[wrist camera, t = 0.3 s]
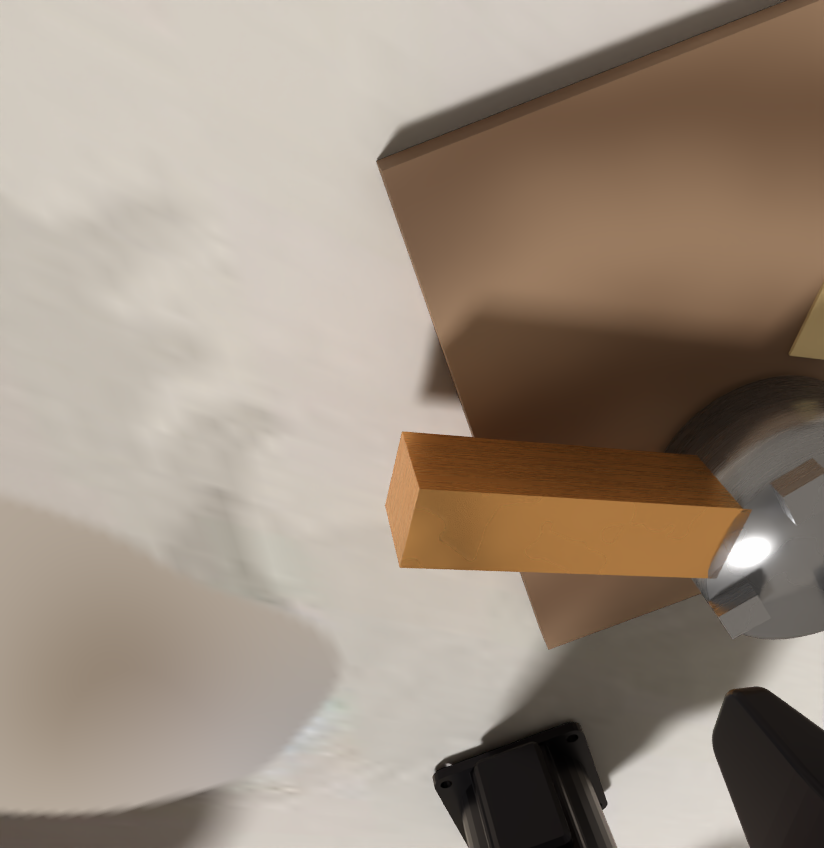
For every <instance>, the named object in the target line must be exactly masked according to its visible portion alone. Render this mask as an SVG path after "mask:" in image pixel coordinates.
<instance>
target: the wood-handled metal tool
mask: <svg viewBox="0 0 824 848" xmlns="http://www.w3.org/2000/svg"><path fill="white" fill-rule="evenodd" d="M385 507H386V511H387V515H388V520H389V524H390V528H391V532H392V537H393V541H394V545H395V549H396V554H397V558H398V562H399V566H400V568H426V569H454V570H483V571H511V572H539V573H568V574H596V575H624V576H653V577H681V578H691V579H692V580H693V582H694V583H695V585H696V586H697V588H698V589H699V591H700V592H701V593H702V595H703V596H704V598H705V599H706V601H707V602H708V604H709V605H710V607H711V608H712V609H713V611H714V612H715V614H716V615H717V617H718V618H719V620H720V622H721V623H722V625H723V626H724V628H725V629H726V631H727V632H728V633H729V635H730V636H731V638H732V639H734V638H736V637H738V636H740V635H742V634H744V635H747V636H750V637H755V638H760V639H789V638H796V637H802V636H806V635H811V634H815V633H818V632H821V631H824V381H822V380H819V379H817V378H812V377H807V376H793V375H789V376H777V377H772V378H767V379H762V380H758V381H755V382H752V383H749V384H746V385H744V386H741V387H739V388H737V389H735V390H732V391H730V392H729V393H727V394H725V395H723V396H721V397H720V398H718V399H716V400H715V401H713V402H712V403H710V404H709V405H707V406H706V407H705V408H703V409H702V410H701V411H700V412H698V413H697V414H696V415H695V416H694V417H692V418H691V419H690V420H689V421H688V422H687V423H686V424H685V425H684V426H683V427H682V428H681V429H680V431H679V432H678V433H677V434H676V436H675V437H674V438H673V439H672V441H671V442H670V443H669V445H668V447H667V448H666V450H665V451H664V453H662V452H650V451H637V450H625V449H613V448H600V447H588V446H575V445H563V444H551V443H538V442H526V441H513V440H501V439H489V438H476V437H464V436H451V435H439V434H427V433H414V432H402V434H401V438H400V443H399V447H398V452H397V456H396V460H395V465H394V469H393V474H392V478H391V482H390V487H389V491H388V496H387V500H386V504H385Z"/></svg>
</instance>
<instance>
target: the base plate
mask: <svg viewBox="0 0 824 848" xmlns="http://www.w3.org/2000/svg"><path fill="white" fill-rule="evenodd" d="M376 162H377V165H378V168H379V171H380V173H381V176H382V179H383V182H384V185H385V188H386V191H387V193H388V196H389V199H390V202H391V205H392V208H393V211H394V213H395V216H396V219H397V222H398V225H399V228H400V231H401V233H402V236H403V239H404V242H405V245H406V248H407V251H408V253H409V256H410V259H411V262H412V265H413V268H414V271H415V273H416V276H417V279H418V282H419V285H420V288H421V291H422V293H423V296H424V299H425V302H426V305H427V308H428V311H429V313H430V316H431V319H432V322H433V325H434V328H435V331H436V333H437V336H438V339H439V342H440V345H441V348H442V351H443V353H444V356H445V359H446V362H447V365H448V368H449V371H450V373H451V376H452V379H453V382H454V385H455V388H456V391H457V393H458V396H459V399H460V402H461V405H462V408H463V411H464V413H465V416H466V419H467V422H468V425H469V428H470V431H471V434H472V436H473V437H476V438H489V439H501V440H513V441H526V442H538V443H551V444H563V445H575V446H588V447H600V448H613V449H625V450H637V451H650V452H662V453H664V451H665V450H666V448H667V447H668V445H669V443H670V442H671V441H672V439H673V438H674V437H675V436H676V434H677V433H678V432H679V431H680V429H681V428H682V427H683V426H684V425H685V424H686V423H687V422H688V421H689V420H690V419H691V418H692V417H694V416H695V415H696V414H697V413H698V412H700V411H701V410H702V409H703V408H705V407H706V406H707V405H709V404H710V403H712V402H713V401H715V400H716V399H718V398H720V397H721V396H723V395H725V394H727V393H729V392H730V391H732V390H735V389H737V388H739V387H741V386H744V385H746V384H749V383H752V382H755V381H758V380H762V379H767V378H772V377H777V376H789V375H793V376H807V377H812V378H817V379H819V380H822V381H824V0H787V1H784V2H782V3H779V4H777V5H774V6H771V7H769V8H766V9H764V10H761V11H759V12H756V13H753V14H751V15H748V16H746V17H743V18H741V19H738V20H736V21H733V22H730V23H728V24H725V25H723V26H720V27H718V28H715V29H713V30H710V31H707V32H705V33H702V34H700V35H697V36H695V37H692V38H689V39H687V40H684V41H682V42H679V43H677V44H674V45H672V46H669V47H666V48H664V49H661V50H659V51H656V52H654V53H651V54H649V55H646V56H643V57H641V58H638V59H636V60H633V61H631V62H628V63H625V64H623V65H620V66H618V67H615V68H613V69H610V70H608V71H605V72H602V73H600V74H597V75H595V76H592V77H590V78H587V79H585V80H582V81H579V82H577V83H574V84H572V85H569V86H567V87H564V88H561V89H559V90H556V91H554V92H551V93H549V94H546V95H544V96H541V97H538V98H536V99H533V100H531V101H528V102H526V103H523V104H521V105H518V106H515V107H513V108H510V109H508V110H505V111H503V112H500V113H497V114H495V115H492V116H490V117H487V118H485V119H482V120H480V121H477V122H474V123H472V124H469V125H467V126H464V127H462V128H459V129H457V130H454V131H451V132H449V133H446V134H444V135H441V136H439V137H436V138H433V139H431V140H428V141H426V142H423V143H421V144H418V145H416V146H413V147H410V148H408V149H405V150H403V151H400V152H398V153H395V154H393V155H390V156H387V157H385V158H382V159H380V160H377V161H376ZM520 574H521V576H522V579H523V582H524V585H525V588H526V591H527V594H528V596H529V599H530V602H531V605H532V608H533V611H534V614H535V616H536V619H537V622H538V625H539V628H540V630H541V633H542V635H543V638H544V640H545V642H546V645H547V647H548V650H549V649H552V648H555V647H557V646H560V645H563V644H565V643H568V642H571V641H574V640H576V639H579V638H582V637H584V636H587V635H590V634H593V633H595V632H598V631H601V630H603V629H606V628H609V627H612V626H614V625H617V624H620V623H622V622H625V621H628V620H631V619H633V618H636V617H639V616H641V615H644V614H647V613H650V612H652V611H655V610H658V609H660V608H663V607H666V606H669V605H671V604H674V603H677V602H679V601H682V600H685V599H688V598H690V597H693V596H696V595H698V594H701V592H700V591H699V589H698V588H697V586H696V585H695V583H694V582H693V580H692V579H691V578H681V577H653V576H624V575H596V574H568V573H539V572H520Z"/></svg>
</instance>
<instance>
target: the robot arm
mask: <svg viewBox="0 0 824 848" xmlns="http://www.w3.org/2000/svg"><path fill="white" fill-rule="evenodd" d="M712 744H713V750H714V753H715V757H716V759H717V762H718V765H719V767H720V770H721V772H722V775H723V778H724V780H725V783H726V786H727V788H728V791H729V794H730V796H731V799H732V802H733V804H734V807H735V810H736V812H737V815H738V818H739V820H740V823H741V825H742V828H743V831H744V833H745V836H746V839H747V841H748V844H749V847H750V848H824V730H823V729H821V728H820V727H819V726H817V725H816V724H815V723H813V722H812V721H810V720H809V719H808V718H806V717H805V716H804V715H802V714H801V713H799V712H798V711H797V710H795V709H794V708H792V707H791V706H790V705H788V704H787V703H786V702H784V701H783V700H781V699H780V698H779V697H777V696H776V695H775V694H773V693H772V692H770V691H769V690H767V689H765V688H762V687H747V688H739V689H732V690H730V691H729V692H728V693H727V694H726V695H725V697H724V700H723V703H722V706H721V709H720V712H719V715H718V718H717V721H716V724H715V727H714V730H713V734H712ZM433 782H434V786H435V790H436V791H437V793H438V795H439V797H440V798H441V800H442V802H443V804H444V805H445V807H446V809H447V811H448V812H449V814H450V816H451V818H452V819H453V821H454V823H455V825H456V826H457V828H458V830H459V832H460V833H461V835H462V837H463V839H464V840H465V842H466V844H467V846H468V847H469V848H617V846H616V843H615V841H614V838H613V836H612V833H611V831H610V828H609V826H608V823H607V821H606V818H605V816H604V813H603V811H602V810H603V809H604V808H606V806H607V800H606V797H605V795H604V792H603V789H602V786H601V783H600V780H599V777H598V774H597V771H596V768H595V765H594V762H593V759H592V756H591V753H590V750H589V748H588V745H587V742H586V739H585V736H584V733H583V731H582V728H581V726H580V725H579V724H578V723H576V722H570V723H566V724H563V725H561V726H558V727H555V728H552V729H550V730H547V731H544V732H542V733H539V734H536V735H533V736H531V737H528V738H525V739H522V740H520V741H517V742H514V743H511V744H509V745H506V746H503V747H500V748H498V749H495V750H492V751H490V752H487V753H484V754H481V755H479V756H476V757H473V758H470V759H468V760H465V761H462V762H459V763H457V764H454V765H451V766H448V767H446V768H443V769H440V770H438V771H437V772H436V773H434V775H433Z"/></svg>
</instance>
